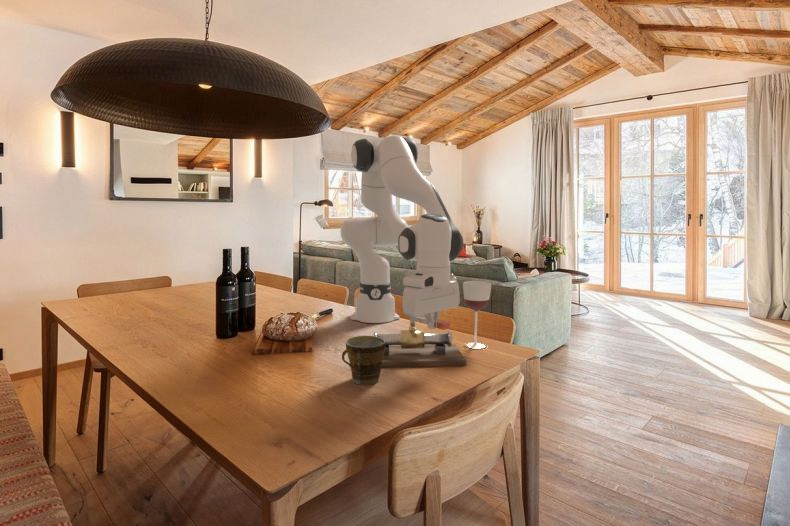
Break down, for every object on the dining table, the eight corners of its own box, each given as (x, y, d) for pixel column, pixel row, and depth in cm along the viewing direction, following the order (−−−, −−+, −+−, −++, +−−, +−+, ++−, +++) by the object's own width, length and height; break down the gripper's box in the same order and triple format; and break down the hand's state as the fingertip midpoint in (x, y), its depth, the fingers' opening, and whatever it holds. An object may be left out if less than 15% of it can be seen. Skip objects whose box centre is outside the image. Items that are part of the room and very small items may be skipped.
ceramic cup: (364, 370, 121) (364, 333, 120) (393, 379, 115) (394, 340, 113) (328, 384, 111) (327, 344, 110) (357, 395, 105) (357, 353, 103)
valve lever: (406, 325, 130) (406, 312, 129) (412, 324, 131) (412, 310, 131) (443, 336, 119) (443, 321, 118) (450, 334, 121) (450, 320, 120)
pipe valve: (373, 350, 132) (373, 325, 131) (448, 349, 134) (448, 324, 133) (374, 356, 127) (374, 330, 126) (452, 355, 129) (452, 329, 128)
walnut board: (363, 351, 136) (363, 346, 136) (455, 349, 139) (455, 344, 138) (363, 367, 123) (363, 362, 122) (465, 365, 125) (466, 360, 125)
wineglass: (456, 343, 144) (458, 281, 142) (480, 341, 147) (482, 280, 145) (469, 351, 137) (471, 285, 135) (494, 348, 140) (496, 284, 138)
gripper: (447, 271, 129) (446, 319, 130) (398, 279, 114) (398, 333, 115) (465, 274, 125) (464, 323, 126) (417, 282, 110) (417, 338, 111)
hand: (432, 328), depth 121 cm, fingers closed
